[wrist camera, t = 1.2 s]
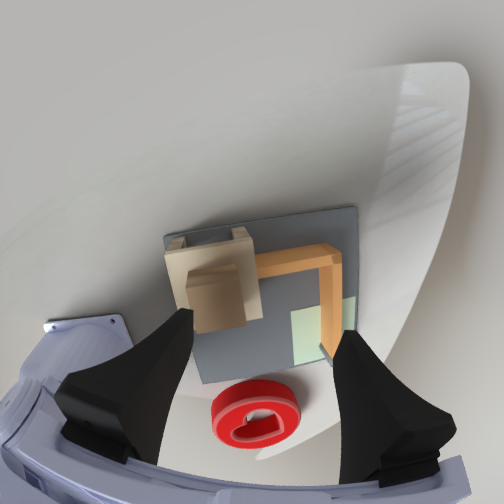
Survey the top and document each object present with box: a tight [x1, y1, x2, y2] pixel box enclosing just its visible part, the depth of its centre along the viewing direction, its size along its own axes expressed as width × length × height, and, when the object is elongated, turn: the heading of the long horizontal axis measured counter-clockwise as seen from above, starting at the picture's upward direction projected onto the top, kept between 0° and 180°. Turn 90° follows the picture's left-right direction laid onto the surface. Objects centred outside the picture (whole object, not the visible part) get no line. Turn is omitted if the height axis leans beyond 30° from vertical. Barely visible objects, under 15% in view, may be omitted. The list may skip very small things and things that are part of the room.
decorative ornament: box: [211, 380, 301, 449], centre depth 27 cm, size 10×10×3 cm
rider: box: [164, 227, 263, 334], centre depth 19 cm, size 6×6×7 cm
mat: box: [163, 206, 358, 384], centre depth 24 cm, size 16×15×1 cm
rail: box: [255, 243, 342, 367], centre depth 23 cm, size 11×11×3 cm
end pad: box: [291, 296, 355, 365], centre depth 26 cm, size 6×6×1 cm
